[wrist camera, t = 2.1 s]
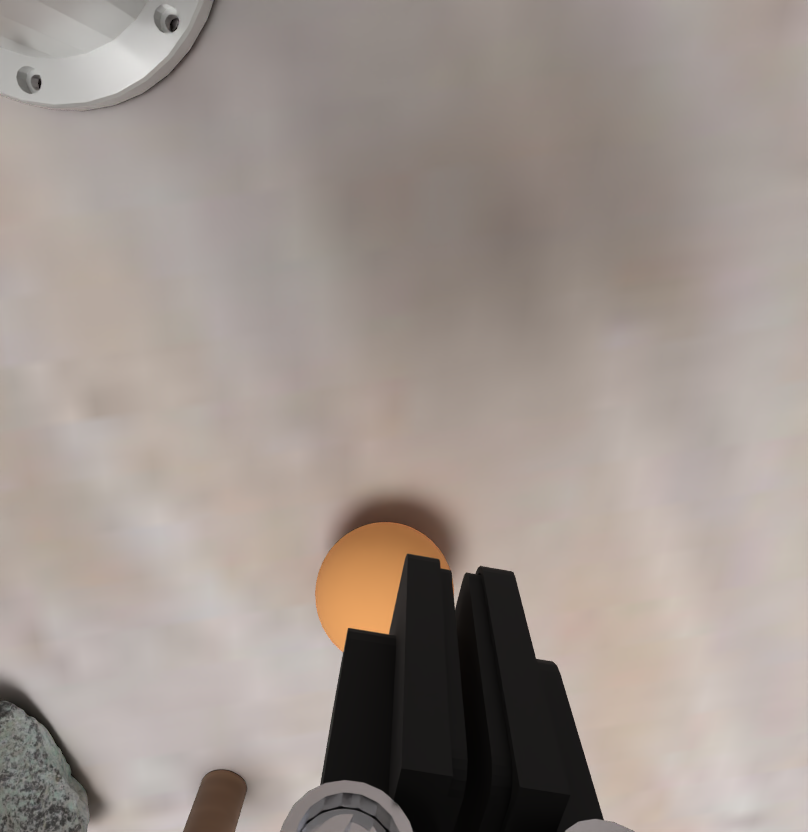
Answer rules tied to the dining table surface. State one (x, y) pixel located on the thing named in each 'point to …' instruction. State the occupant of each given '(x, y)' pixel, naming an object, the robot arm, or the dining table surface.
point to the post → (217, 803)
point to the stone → (36, 779)
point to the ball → (367, 577)
